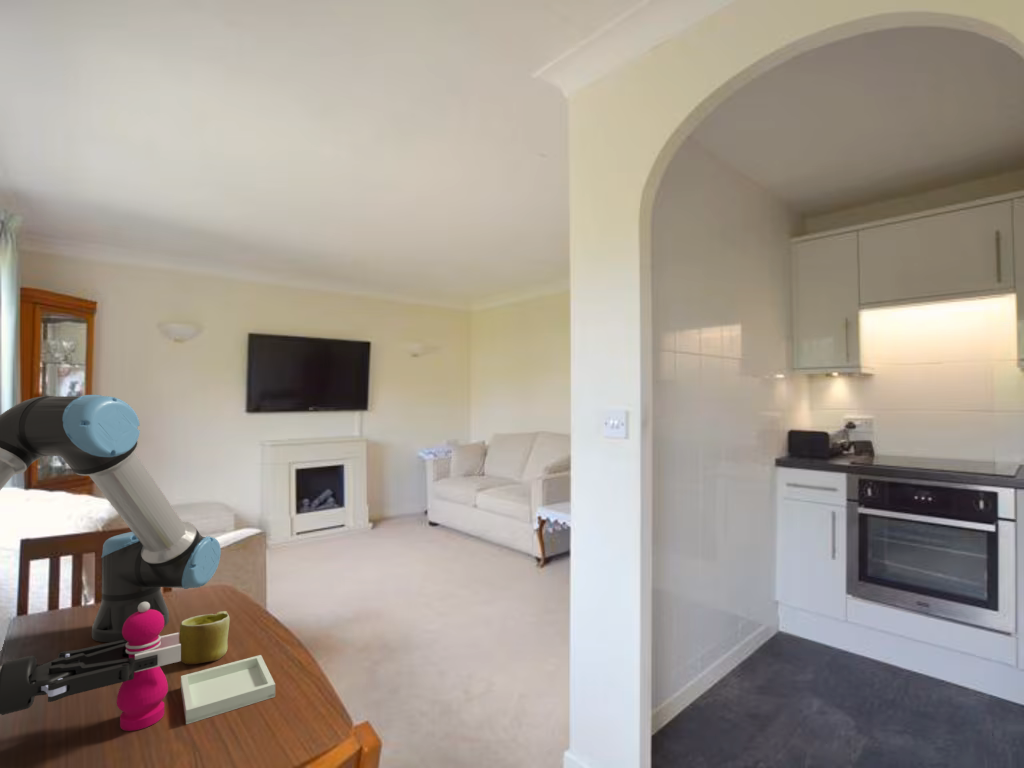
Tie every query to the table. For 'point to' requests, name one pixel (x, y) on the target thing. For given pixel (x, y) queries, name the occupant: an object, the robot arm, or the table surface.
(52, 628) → the table surface
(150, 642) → the pepper mill
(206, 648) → the mug
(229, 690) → the tray
